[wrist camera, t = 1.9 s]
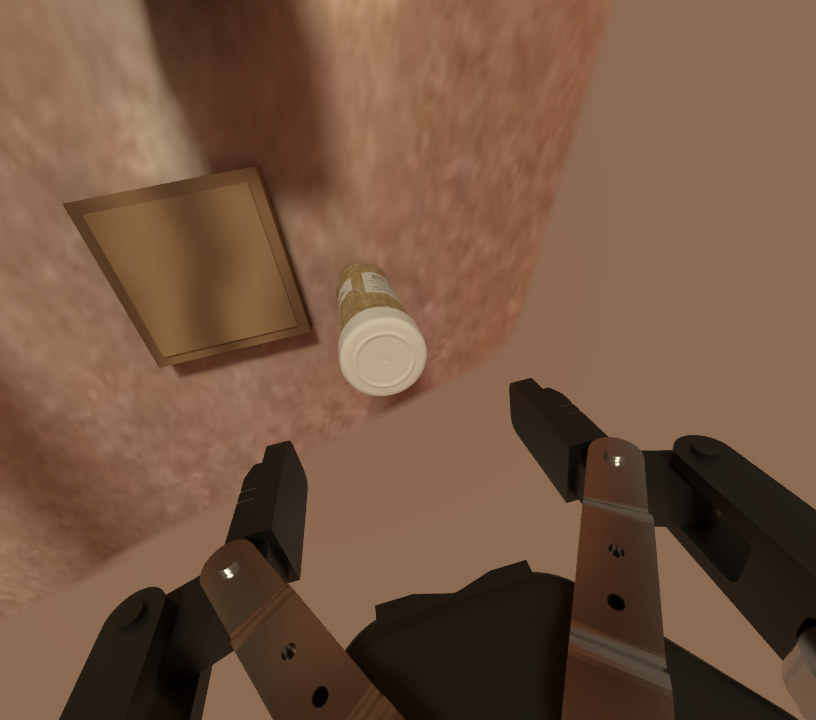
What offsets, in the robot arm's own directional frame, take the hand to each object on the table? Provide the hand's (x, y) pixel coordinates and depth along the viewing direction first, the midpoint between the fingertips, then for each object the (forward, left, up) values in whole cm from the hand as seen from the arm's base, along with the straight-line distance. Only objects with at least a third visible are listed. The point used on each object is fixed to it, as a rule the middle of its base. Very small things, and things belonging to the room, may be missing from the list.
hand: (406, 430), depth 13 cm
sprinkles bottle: (0, 0, -19) cm, 19 cm away
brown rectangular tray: (-11, +4, -19) cm, 23 cm away
